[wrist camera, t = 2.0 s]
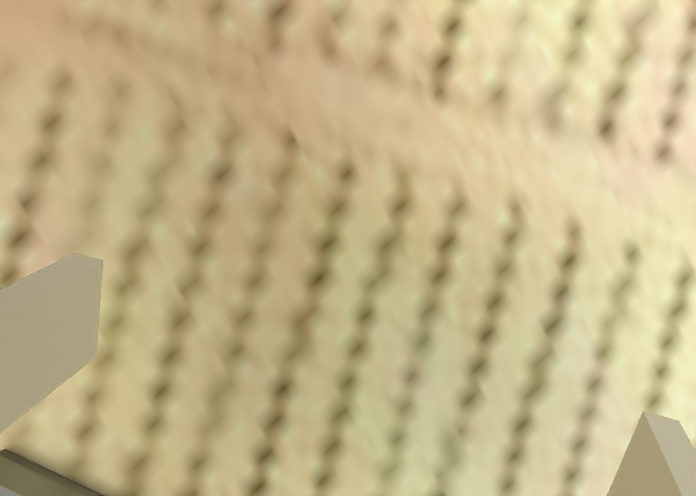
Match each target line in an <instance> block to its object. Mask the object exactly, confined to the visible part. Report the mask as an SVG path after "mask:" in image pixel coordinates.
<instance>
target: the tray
mask: <svg viewBox="0 0 696 496" xmlns="http://www.w3.org/2000/svg"><path fill="white" fill-rule="evenodd" d="M0 496H102V495H100V494H98V493H96V492H94V491H92V490H90V489H87V488H85V487H83V486H81V485H79V484H77V483H75V482H73V481H71V480H69V479H66V478H64V477H62V476H60V475H58V474H56V473H54V472H52V471H50V470H48V469H46V468H43V467H41V466H39V465H37V464H35V463H33V462H31V461H29V460H27V459H25V458H23V457H20V456H18V455H16V454H14V453H12V452H10V451H8V450H6V449H4V450H2V451H0Z"/></svg>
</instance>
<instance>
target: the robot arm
mask: <svg viewBox="0 0 696 496" xmlns="http://www.w3.org/2000/svg"><path fill="white" fill-rule="evenodd" d="M102 266H103V261H102V260H99V259H95V258H91V257H88V256H84V255H81V254H77V253H74V254H72V255H70V256H68V257H66V258H64V259H62V260H60V261H58V262H56V263H54V264H52V265H50V266H48V267H46V268H44V269H41V270H39V271H37V272H35V273H33V274H31V275H29V276H27V277H25V278H23V279H21V280H19V281H17V282H15V283H13V284H11V285H9V286H7V287H5V288H3V289H1V290H0V433H1V432H2V431H3V430H5V429H6V428H7V427H8V426H10V425H11V424H12V423H13V422H15V421H16V420H17V419H18V418H20V417H21V416H22V415H23V414H25V413H26V412H27V411H29V410H30V409H31V408H32V407H34V406H35V405H36V404H37V403H39V402H40V401H41V400H42V399H44V398H45V397H46V396H47V395H49V394H50V393H51V392H52V391H54V390H55V389H56V388H57V387H59V386H60V385H61V384H62V383H64V382H65V381H66V380H68V379H69V378H70V377H71V376H73V375H74V374H75V373H76V372H78V371H79V370H80V369H81V368H83V367H84V366H85V365H86V364H88V363H89V362H90V361H91V360H93V359H94V358H95V357H96V352H97V338H98V324H99V309H100V295H101V281H102ZM607 496H696V451H695V450H694V448H693V446H692V444H691V442H690V440H689V439H688V437H687V435H686V433H685V431H684V429H683V428H682V426H681V424H680V422H679V421H677V420H674V419H670V418H667V417H663V416H659V415H656V414H652V413H649V412H645V411H643V413H642V415H641V418H640V420H639V422H638V425H637V427H636V429H635V432H634V434H633V436H632V439H631V441H630V443H629V446H628V448H627V450H626V452H625V455H624V457H623V459H622V462H621V464H620V466H619V469H618V471H617V473H616V476H615V478H614V480H613V483H612V485H611V487H610V490H609V492H608V494H607Z"/></svg>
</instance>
